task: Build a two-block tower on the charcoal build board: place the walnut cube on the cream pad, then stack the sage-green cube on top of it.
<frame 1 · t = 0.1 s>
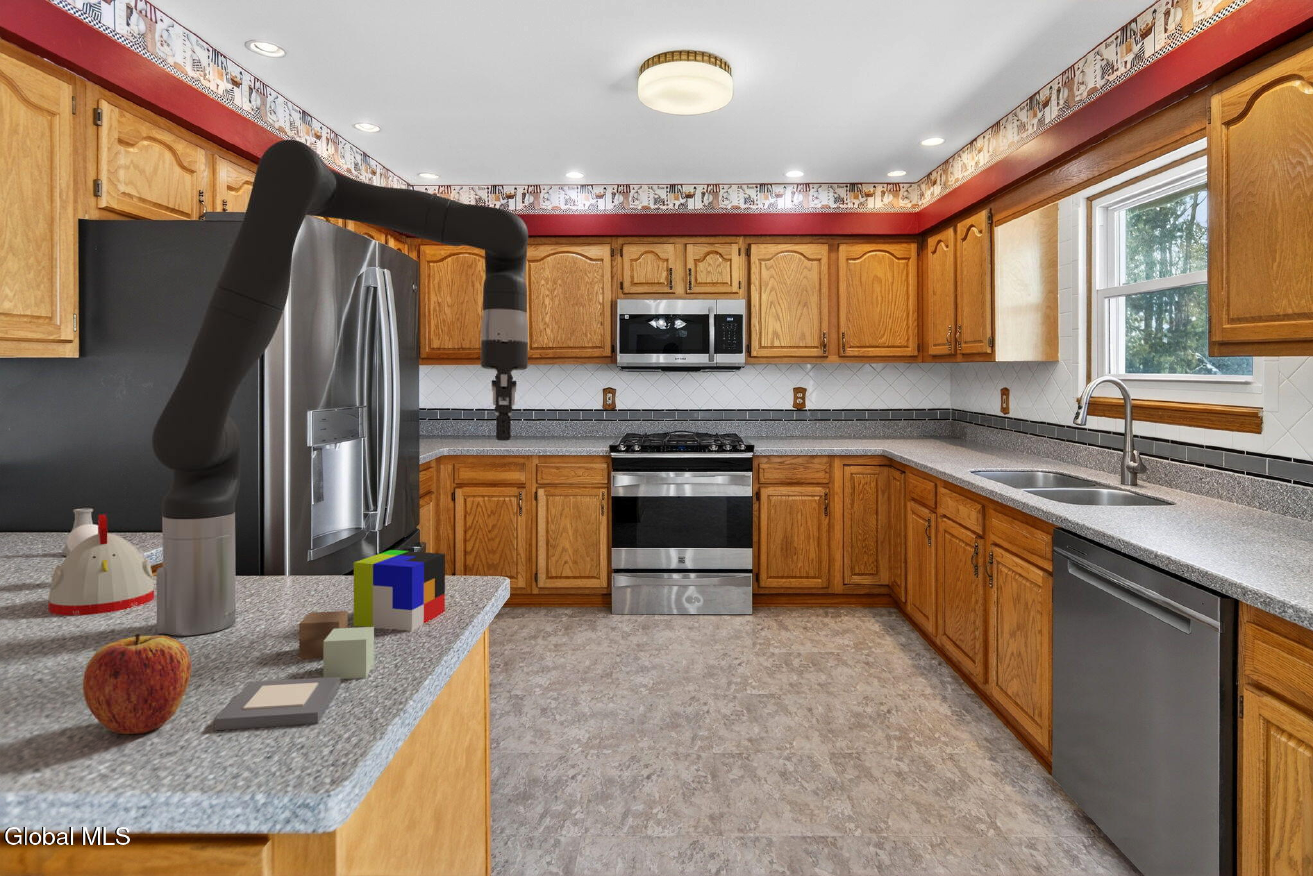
hand: (503, 439, 114), 29 cm above the countertop, tool pointing down, fingers open, 8 cm apart
apple: (138, 729, 73), on the countertop
build board: (282, 706, 79), on the countertop
puzzle toy: (400, 620, 112), on the countertop
sage block: (349, 672, 89), on the countertop
kitchen timer: (103, 604, 117), on the countertop
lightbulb: (89, 583, 129), on the countertop
flask: (83, 555, 153), on the countertop
walnut block: (324, 652, 96), on the countertop
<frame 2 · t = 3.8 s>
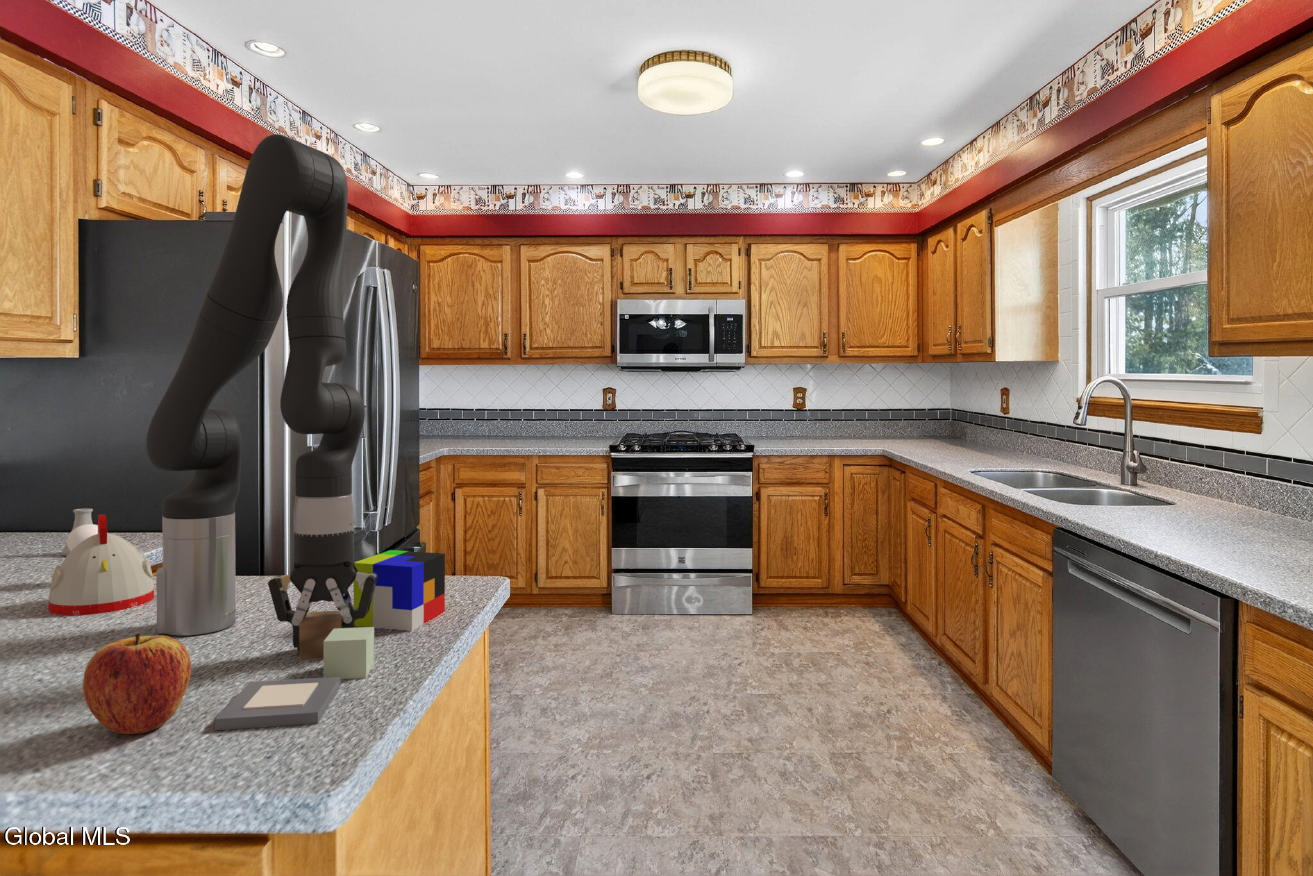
hand: (324, 648, 96), 0 cm above the countertop, tool pointing down, fingers closed on walnut block, 5 cm apart
walnut block: (324, 651, 96), on the countertop, touching gripper
everything else where it was.
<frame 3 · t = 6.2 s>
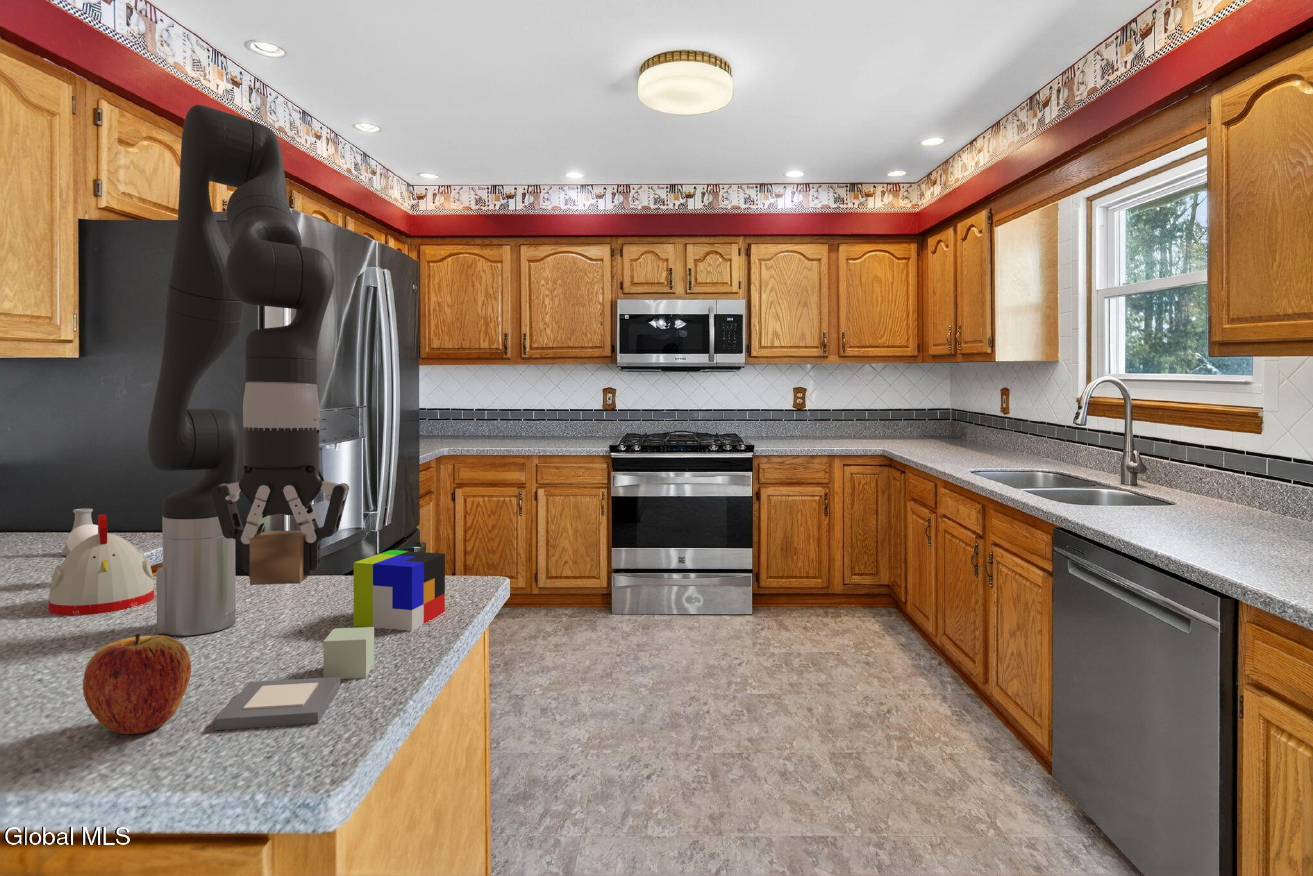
hand: (282, 574, 78), 15 cm above the countertop, tool pointing down, fingers closed on walnut block, 5 cm apart
walnut block: (282, 578, 78), point 15 cm above the countertop, touching gripper
everything else where it was.
when the fingers open (3 cm above the countertop, at t = 8.8 s): walnut block stays where it is, resting on build board.
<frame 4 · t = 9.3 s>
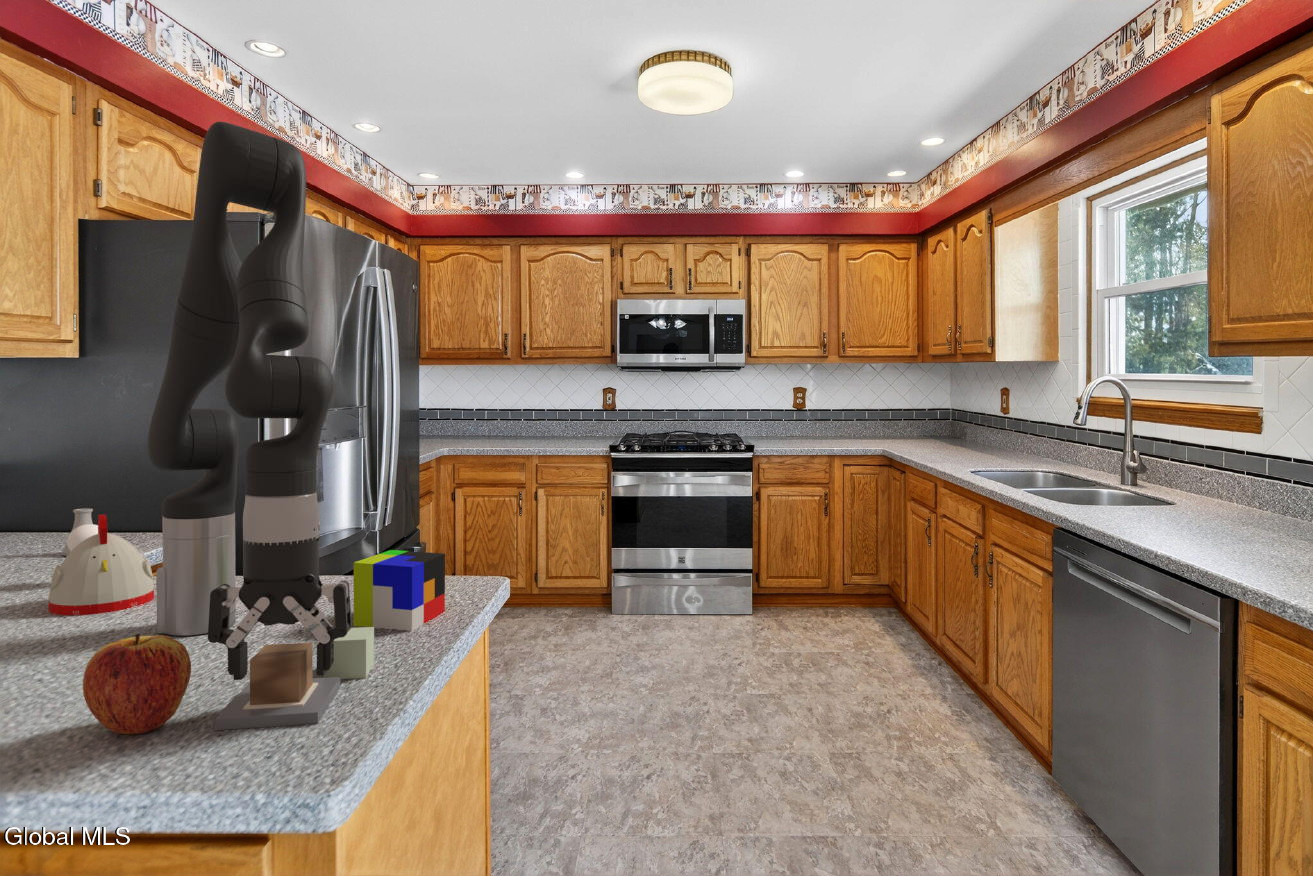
hand: (282, 675, 78), 4 cm above the countertop, tool pointing down, fingers open, 8 cm apart
walnut block: (282, 694, 79), point 1 cm above the countertop, touching build board
everything else where it was.
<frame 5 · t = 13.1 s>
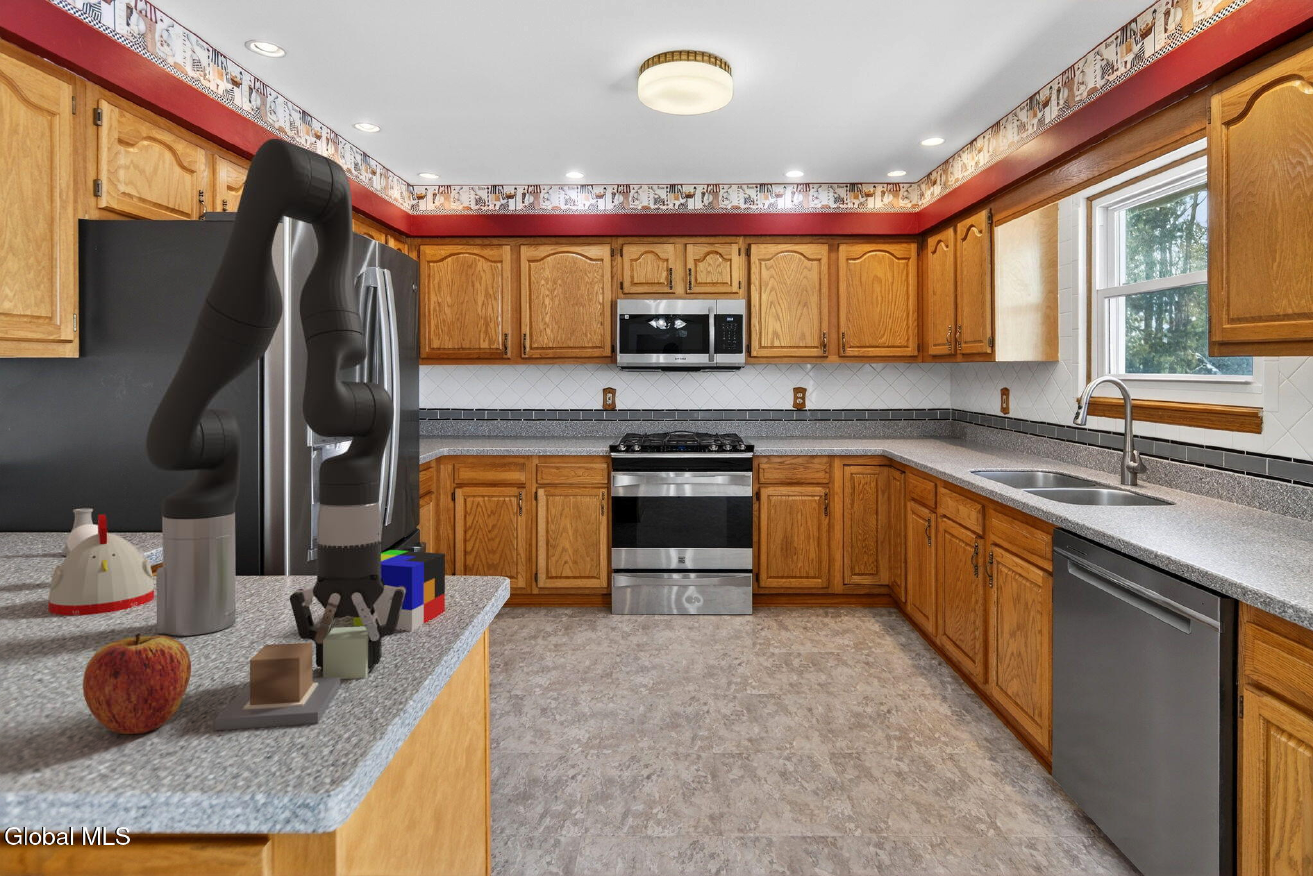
hand: (349, 667, 89), 0 cm above the countertop, tool pointing down, fingers closed on sage block, 5 cm apart
sage block: (349, 671, 89), on the countertop, touching gripper
everything else where it was.
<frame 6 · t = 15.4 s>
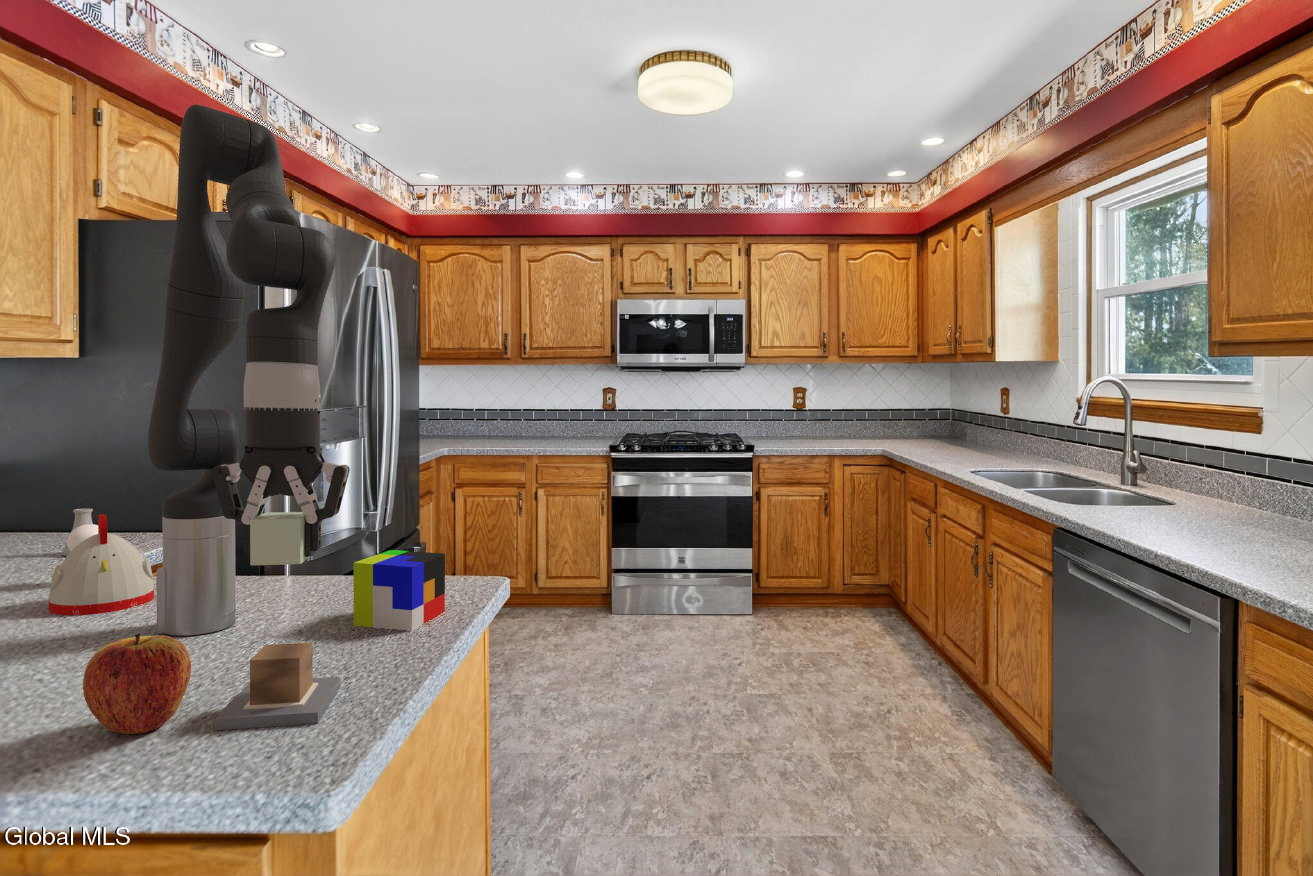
hand: (283, 555, 78), 17 cm above the countertop, tool pointing down, fingers closed on sage block, 5 cm apart
sage block: (282, 559, 78), point 17 cm above the countertop, touching gripper
everything else where it was.
when the fingers open (8 cm above the countertop, at t = 18.0 s): sage block stays where it is, resting on walnut block.
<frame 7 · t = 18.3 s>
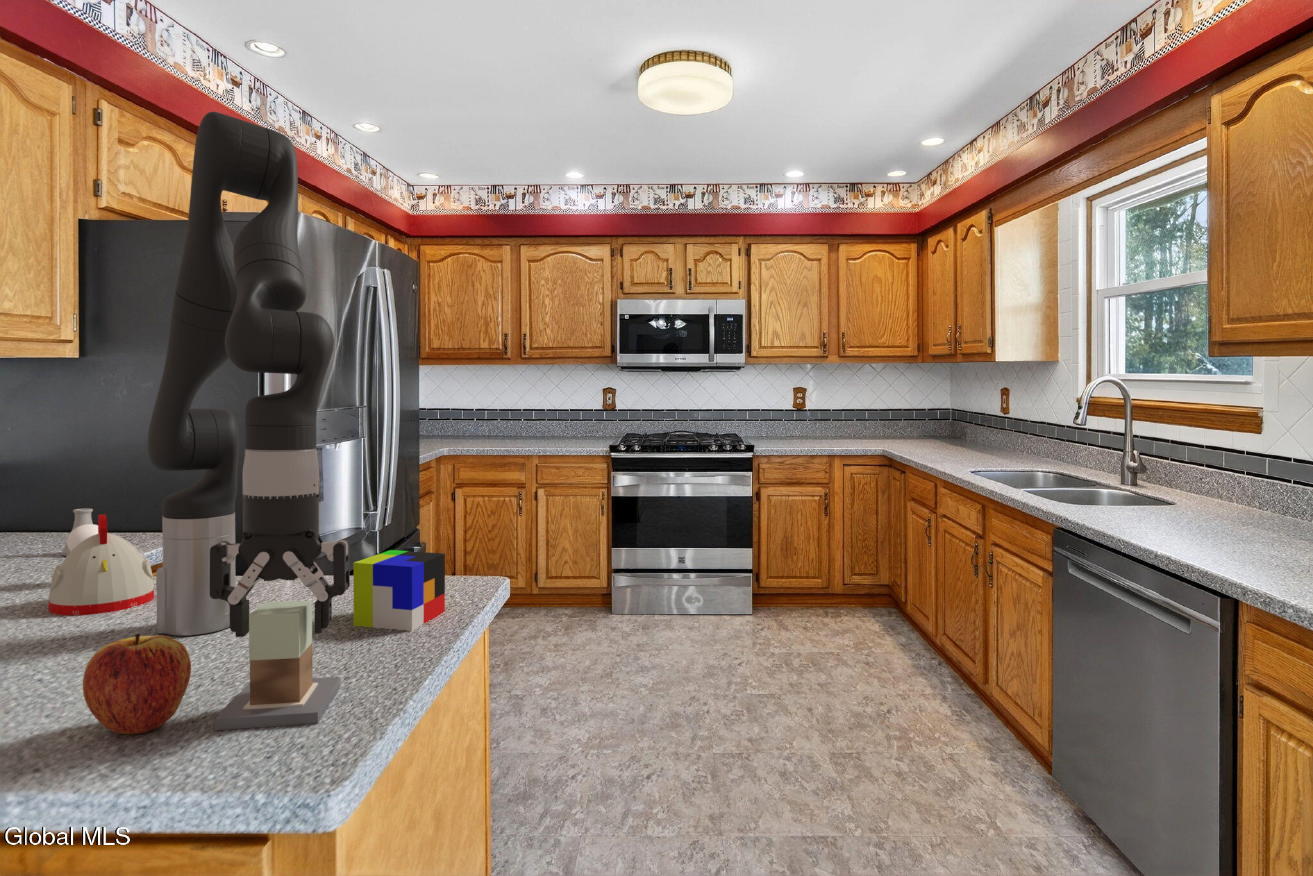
hand: (282, 633, 78), 8 cm above the countertop, tool pointing down, fingers open, 7 cm apart
sage block: (281, 651, 78), point 6 cm above the countertop, touching walnut block
walnut block: (282, 694, 79), point 1 cm above the countertop, touching build board, sage block
everything else where it was.
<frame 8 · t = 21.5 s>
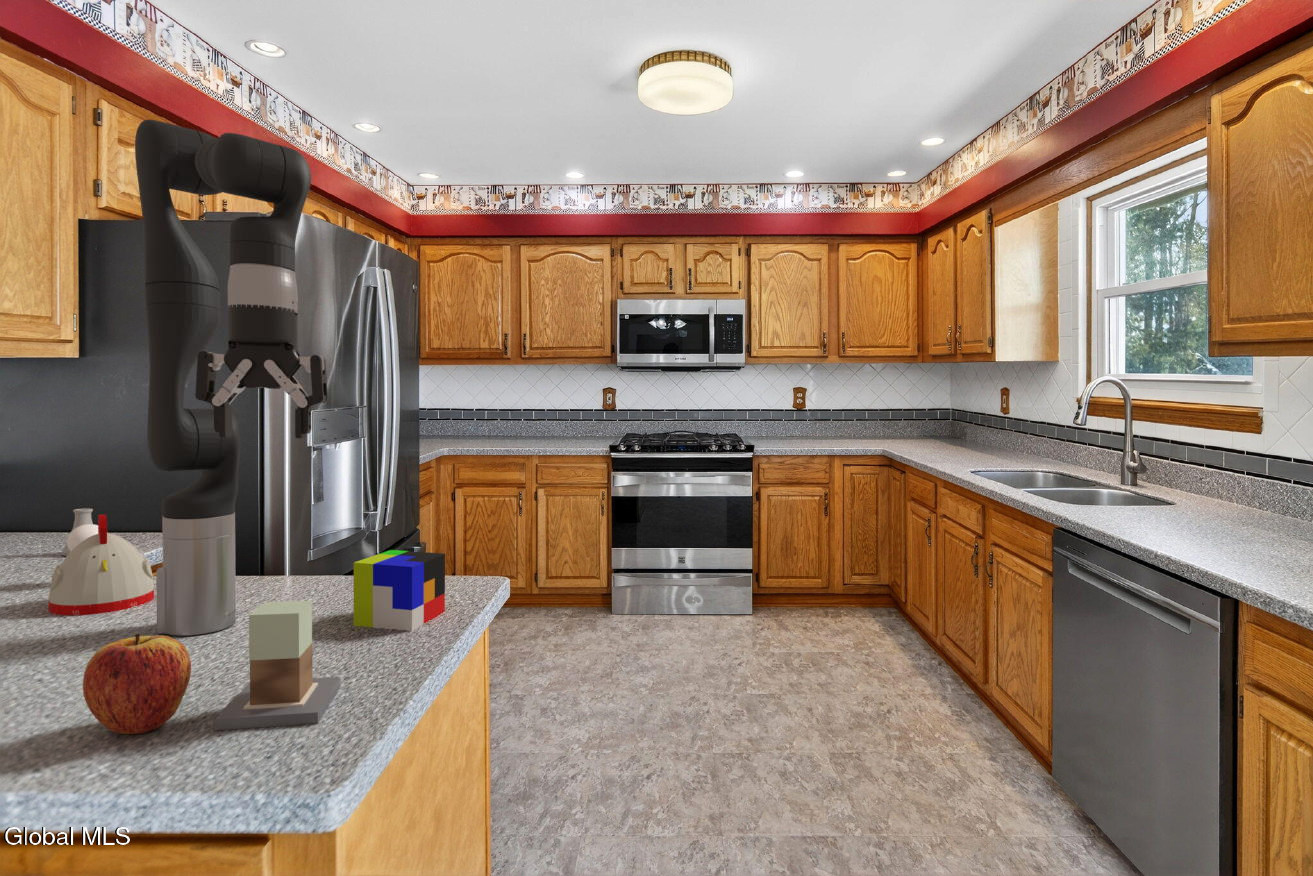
hand: (263, 437, 86), 30 cm above the countertop, tool pointing down, fingers open, 8 cm apart
nothing on the countertop moved.
at the end: walnut block 0.0 cm off-centre on the build board, point 1.4 cm above the build board's base; sage block 0.0 cm off-centre on the walnut block, point 5.0 cm above the walnut block's base; the gripper is holding nothing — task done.
